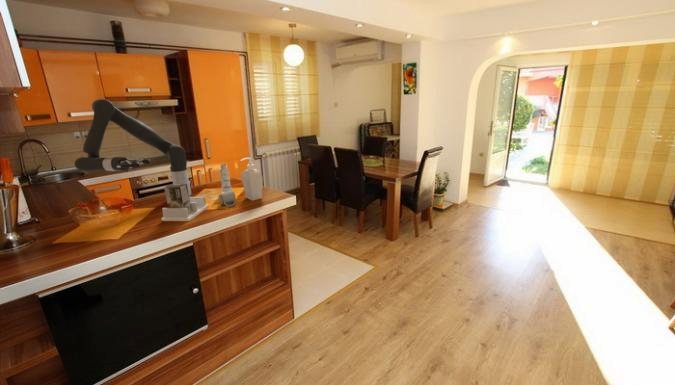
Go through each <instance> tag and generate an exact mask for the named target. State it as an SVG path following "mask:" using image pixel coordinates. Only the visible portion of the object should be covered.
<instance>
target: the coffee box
mask: <svg viewBox="0 0 675 385" xmlns="http://www.w3.org/2000/svg"><path fill="white" fill-rule="evenodd" d="M163 189H164V193H165V198H166V203H167V208H187V209H188V214H190V213H191V212H192V211H191V205H190V200H189V197H190V196H189V194H188V189H187V184H173V183H171V184H168V185H166V186H164V187H163Z"/></svg>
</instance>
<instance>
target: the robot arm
mask: <svg viewBox="0 0 675 385" xmlns="http://www.w3.org/2000/svg"><path fill="white" fill-rule="evenodd" d="M91 107H92V111H93V119H92V123H91V125H90V129H89V130H88V132H87V135H86V136H85V141H84V144H83V147H82V151H83V152H84V153H86V154H87V157H86V156H80V157H78V158H77V159H75V160H74V167H75V168H76V169H77V170H79V171H83V172H95V171H101V172H102V171H105V172H106V171H107V172H124V171H127V170H128V169H129V170H130V169H132V168H133V169H134V168H140V167H141V165H149V164H152V163H151V159H146V158H131V159H130V158H127V157H125V156H108V157H106V156H105V157H100V151H101V148H102V145H103V141H104V137H105V133H106V130H107V128H108V125H109V122H113V123H114V124H116V125H117V126H119V127H120V128H122V130H124V131H126V132H127V133H128V134H130V135H131V136H132V137H134V138H136V139H138V140H139V141H141V142H143V143H145V144H146V145H149V146H151V147H154V148H155V149H157V150H158V151H160V152H161V153H163V154H164V155H165V156H167V157H168V158H169V160H170V167H169V169H170V174H171V180H172V184H187V189H188V194H189V197H191V195H192V190H191V184H190V180H189V174H188V170H187V166H188V163H187V155H186V151H185V149H184V148H183V147H182V146H181V145H178V144H174V143H172V142H170V141H169V140H166V139H164V138H163V137H162V136H161V135H160V134H159V133H158V132H157V131H155V130H154V129H153V128H151V127H150V126H148V125H147V124H145V122H142V121H141V120H138V119H136V118H134V117H132V116H130V115H128V114H126V113H124V112H123V111H121V110H120V109H118V108H117V107H116V106H114V104H113V102H111V101H110V100H108V99H105V98H99V99H95V100H94V101H93V102H92V104H91Z"/></svg>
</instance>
